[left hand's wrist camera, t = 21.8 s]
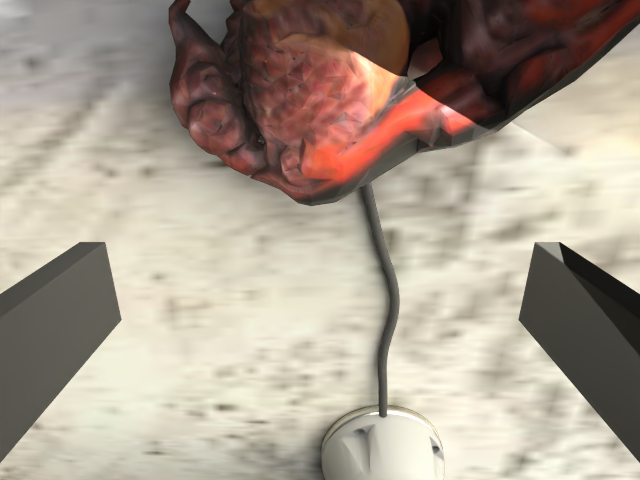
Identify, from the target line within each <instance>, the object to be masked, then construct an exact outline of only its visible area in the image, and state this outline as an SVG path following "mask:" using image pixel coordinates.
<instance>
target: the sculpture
mask: <svg viewBox="0 0 640 480" xmlns="http://www.w3.org/2000/svg"><path fill="white" fill-rule="evenodd" d="M190 2H191V1H190V0H175V1H174V3H173V4H172V5H171V6H170V7H169V26H170V29H171V33H172V36H173V39H174V43H175V46H176V61H175V65H174V68H173V72H172V76H171V79H170V83H169V86H170V94H171V101H172V105H173V108H174V111H175V113H176V114H177V116H178V118H179V120H180V122H181V124H182V126H183V127H185V128H186V129H188V130H189V133H190V136H191V137H192V139H193V140H194V141H195V142H196V144H197V145H198V146H199V147H201V148H202V149H203V150H205V151H206V152H207V153H210V154H214V155H217V156H218V157H219V158H220V159H221V160H222V161H223V162H224V163H225V164H226V165H228V166H229V167H231V168H233V169H234V170H236V171H238V172H240V173H243V174H245V175H252V176H251V178H252V179H255V180H258V181H261V182H264V183H267V184H269V185H271V186H274V187H276V188H278V189H280V190H282V191H283V192H284V193H286V194H287V195H288V196H290V197H291V198H292V199H293V200H295V201H296V202H297V203H300V204H304V205H309V206H314V205H321V204H327V203H333V202H337V201H338V200H340V199H342V198H343V197H345V196H347V195H348V194H350V193H352V192H353V191H355V190H357V189H359V188H360V187H362V186H364V185H365V184H367V183H369V182H370V181H372V180H374V179H375V178H377V177H379V176H380V175H382V174H384V173H385V172H387V171H388V170H390V169H392V168H393V167H395V166H397V165H398V164H400V163H401V162H403V161H405V160H406V159H408V158H410V157H411V156H413V155H414V154H416V153H420V152H427V151H433V150H440V149H446V148H452V147H457V146H460V145H462V144H465V143H468V142H471V141H473V140H476V139H479V138H482V137H484V136H487V135H490V134H493V133H496V132H498V131H499V130H500V129H502V128H503V127H504V126H506V125H507V124H508V123H510V122H511V121H512V120H514V119H515V118H516V117H518V116H519V115H520V114H522V113H523V112H524V111H526V110H527V109H529V108H531V107H532V106H534V105H536V104H537V103H539V102H541V101H542V100H544V99H546V98H547V97H549V96H551V95H552V94H554V93H556V92H557V91H559V90H561V89H562V88H564V87H566V86H567V85H569V84H571V83H572V82H574V81H575V80H577V79H578V78H579V77H580V76H581V75H582V74H584V73H585V72H586V71H587V70H588V69H589V68H591V67H592V66H593V65H594V64H595V63H596V62H598V61H599V60H600V59H601V58H602V57H603V56H605V55H606V54H607V53H608V52H609V51H610V50H611V49H612V48H613V47H614V46H615V45H616V44H618V43H619V42H620V41H621V40H622V39H623V38H624V37H625V36H626V35H627V34H628V33H630V32H631V31H632V30H633V29H634V28H635V27H636V26H637V25H638V24H639V23H640V0H230V4H231V6H232V8H233V10H234V13H233V14H232V15H231V16H229V17H228V18H227V19H226V25H227V29H228V32H227V34H226V36H225V38H224V40H223V42H222V43H221V45H219V44H217V43H216V42H215V41H214V40H212V39H211V38H210V37H209V36H208V34H207V33H206V32H205V31H204V30H203V29H202V28H201V27H200V26H199V25H198V23H197V22H196V21H194V20H193V19H192V18H191V17H190V16H189V15H188V14H187V13H186V12H185V11H186V9H187V8H188V6H189V4H190ZM435 37H438V42H439V47H440V51H441V53H442V56H443V58H444V59H443V60H442V61H441V62H440V63H439V64H438V65H436V66H435V67H434V68H433V69H432V70H431V71H430V72H428V73H427V74H425V75H423V76H420V77H418V78H416V79H414V80H411V81H409V79H408V75H407V71H408V67H409V64H410V60H411V57H412V54H413V52H414V51H415V49H416V47H417V46H419V45H421V44H423V43H425V42H427V41H429V40H431V39H433V38H435ZM260 136H263V138H264V140H265V143H264V144H262V143H259V142H257V141H258V139H259V137H260Z"/></svg>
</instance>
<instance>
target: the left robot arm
mask: <svg viewBox="0 0 640 480" xmlns="http://www.w3.org/2000/svg"><path fill="white" fill-rule="evenodd" d="M362 192H363V196H364V201H365V205H366V209H367V213H368V217H369V221H370V225H371V229H372V233H373V237H374V241H375V245H376V248H377V251H378V254H379V257H380V260H381V263H382V265H383V268H384V271H385V274H386V277H387V281H388V285H389V292H390V311H389V317H388V321H387V324H386V328H385V331H384V334H383V337H382V341H381V344H380V349H379V356H378V383H379V406H370V407H365V408H362V409H359V410H356V411H353V412H351V413H349V414H347V415H345V416H344V417H342V418H341V419H339V420H338V421H337V422H336V423H335V424H334V425H333V426H332V427H331V428H330V429H329V431H328V432H327V434H326V435H325V438H324V440H323V443H322V448H321V463H322V470H323V475H324V478H325V480H444V454H443V448H442V445H441V442H440V439H439V436H438V433H437V431H436V429H435V428H434V426H433V425H432V424H431V423H430V422H429V421H428V420H427V419H426V418H424V417H423V416H421V415H420V414H418V413H416V412H414V411H412V410H409V409H406V408H403V407H398V406H390V405H387V370H386V369H387V355H388V350H389V346H390V342H391V339H392V336H393V333H394V330H395V327H396V323H397V319H398V314H399V289H398V283H397V279H396V275H395V272H394V269H393V266H392V263H391V260H390V257H389V255H388V252H387V248H386V245H385V242H384V238H383V234H382V229H381V225H380V221H379V217H378V213H377V209H376V204H375V200H374V195H373V191H372V186H371V181H370V182H369V183H367V184H365V185H364V186H362ZM120 321H121V316H120V311H119V306H118V301H117V297H116V292H115V287H114V282H113V278H112V273H111V268H110V263H109V259H108V254H107V249H106V244H105V242H80V243H78V244H76V245H75V246H73V247H72V248H70V249H69V250H67V251H66V252H64V253H63V254H61V255H60V256H58V257H57V258H55V259H53V260H52V261H50V262H49V263H47V264H46V265H44V266H43V267H41V268H40V269H38V270H37V271H35V272H34V273H32V274H31V275H29V276H27V277H26V278H24V279H23V280H21V281H20V282H18V283H17V284H15V285H14V286H12V287H11V288H9V289H8V290H6V291H5V292H3V293H1V294H0V462H1V461H2V460H3V459H4V458H5V457H6V455H7V454H8V453H9V452H10V451H11V450H12V448H13V447H14V446H15V445H16V444H17V442H18V441H19V440H20V439H21V438H22V437H23V435H24V434H25V433H26V432H27V431H28V429H29V428H30V427H31V426H32V425H33V424H34V422H35V421H36V420H37V419H38V418H39V416H40V415H41V414H42V413H43V412H44V411H45V409H46V408H47V407H48V406H49V405H50V403H51V402H52V401H53V400H54V399H55V398H56V396H57V395H58V394H59V393H60V392H61V390H62V389H63V388H64V387H65V386H66V385H67V383H68V382H69V381H70V380H71V379H72V378H73V376H74V375H75V374H76V373H77V372H78V370H79V369H80V368H81V367H82V366H83V365H84V363H85V362H86V361H87V360H88V359H89V357H90V356H91V355H92V354H93V353H94V352H95V350H96V349H97V348H98V347H99V346H100V344H101V343H102V342H103V341H104V340H105V339H106V337H107V336H108V335H109V334H110V333H111V331H112V330H113V329H114V328H115V327H116V326H117V324H118V323H119V322H120ZM519 321H520V322H521V323H522V324H523V326H524V327H525V328H526V329H527V330H528V331H529V333H530V334H531V335H532V336H533V337H534V339H535V340H536V341H537V342H538V343H539V344H540V346H541V347H542V348H543V349H544V350H545V352H546V353H547V354H548V355H549V356H550V357H551V359H552V360H553V361H554V362H555V363H556V365H557V366H558V367H559V368H560V369H561V370H562V372H563V373H564V374H565V375H566V376H567V378H568V379H569V380H570V381H571V382H572V383H573V385H574V386H575V387H576V388H577V389H578V390H579V392H580V393H581V394H582V395H583V396H584V398H585V399H586V400H587V401H588V402H589V403H590V405H591V406H592V407H593V408H594V409H595V411H596V412H597V413H598V414H599V415H600V416H601V418H602V419H603V420H604V421H605V422H606V424H607V425H608V426H609V427H610V428H611V429H612V431H613V432H614V433H615V434H616V435H617V437H618V438H619V439H620V440H621V441H622V442H623V444H624V445H625V446H626V447H627V448H628V450H629V451H630V452H631V453H632V454H633V455H634V457H635V458H636V459H637V460H638V461H639V462H640V294H639V293H637V292H635V291H634V290H632V289H631V288H629V287H628V286H626V285H625V284H623V283H622V282H620V281H619V280H617V279H616V278H614V277H613V276H611V275H609V274H608V273H606V272H605V271H603V270H602V269H600V268H599V267H597V266H596V265H594V264H593V263H591V262H590V261H588V260H587V259H585V258H583V257H582V256H580V255H579V254H577V253H576V252H574V251H573V250H571V249H570V248H568V247H567V246H565V245H564V244H562V243H560V242H535V244H534V249H533V254H532V259H531V263H530V268H529V273H528V278H527V282H526V287H525V292H524V297H523V301H522V306H521V311H520V316H519Z"/></svg>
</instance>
